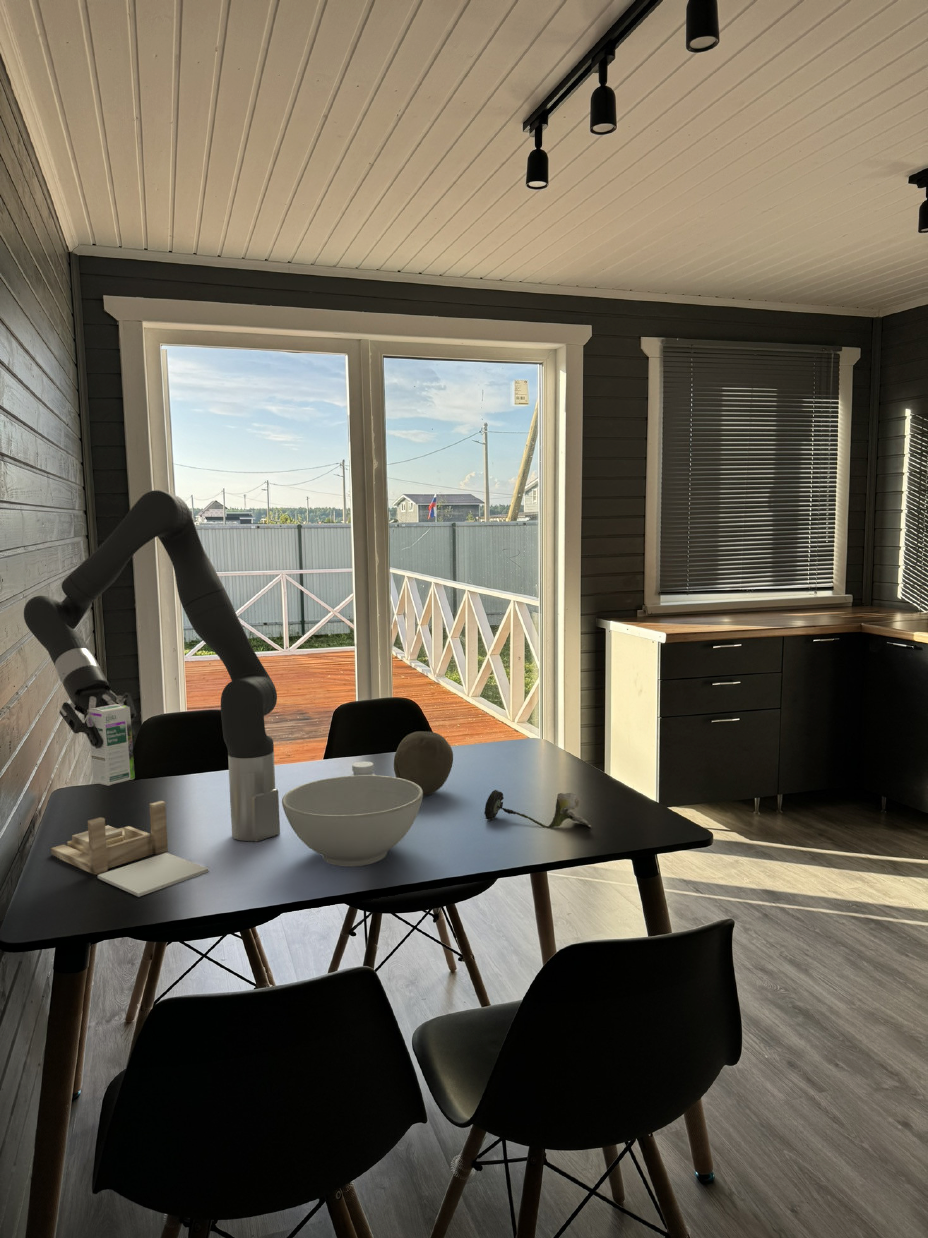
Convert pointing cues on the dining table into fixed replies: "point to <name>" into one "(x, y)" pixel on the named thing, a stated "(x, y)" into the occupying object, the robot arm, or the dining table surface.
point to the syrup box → (112, 745)
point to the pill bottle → (362, 768)
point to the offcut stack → (77, 840)
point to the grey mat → (152, 874)
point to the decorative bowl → (353, 816)
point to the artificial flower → (562, 812)
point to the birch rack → (117, 844)
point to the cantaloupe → (424, 760)
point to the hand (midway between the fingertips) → (116, 742)
